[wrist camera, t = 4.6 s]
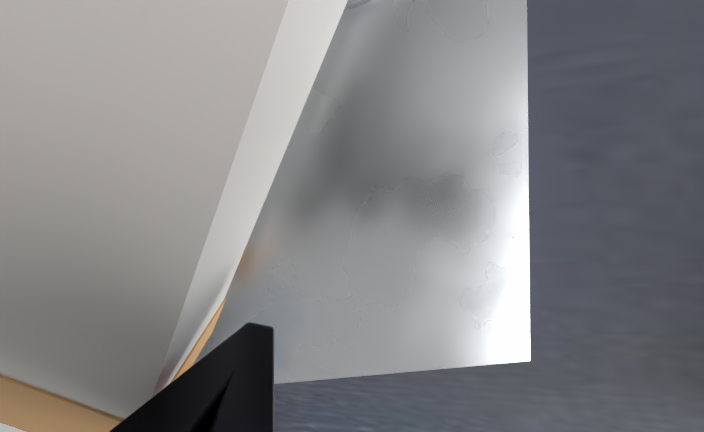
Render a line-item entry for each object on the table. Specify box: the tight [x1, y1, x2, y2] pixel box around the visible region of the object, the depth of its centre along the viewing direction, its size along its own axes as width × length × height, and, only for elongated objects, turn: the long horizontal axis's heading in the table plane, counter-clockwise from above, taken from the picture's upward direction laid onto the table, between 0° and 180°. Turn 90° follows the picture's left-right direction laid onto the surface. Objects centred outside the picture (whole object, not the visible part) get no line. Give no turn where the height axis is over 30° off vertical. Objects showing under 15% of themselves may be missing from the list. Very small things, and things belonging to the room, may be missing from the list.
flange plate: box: [192, 0, 530, 384], centre depth 10 cm, size 20×20×2 cm
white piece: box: [0, 0, 348, 432], centre depth 6 cm, size 15×5×4 cm, turn 154°
